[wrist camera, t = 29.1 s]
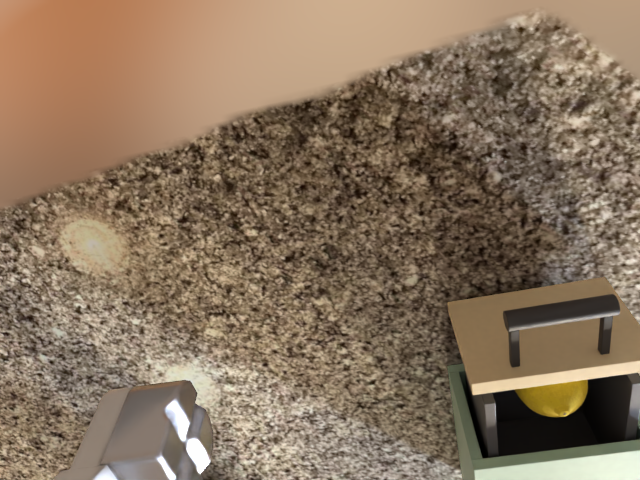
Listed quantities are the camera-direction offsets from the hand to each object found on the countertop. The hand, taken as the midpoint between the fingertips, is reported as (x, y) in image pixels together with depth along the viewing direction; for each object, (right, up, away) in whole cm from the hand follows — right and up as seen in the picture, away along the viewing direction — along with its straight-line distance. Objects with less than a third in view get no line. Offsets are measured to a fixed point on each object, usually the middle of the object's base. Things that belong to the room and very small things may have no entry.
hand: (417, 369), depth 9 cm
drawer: (+16, -6, +37) cm, 41 cm away
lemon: (+16, -5, +36) cm, 39 cm away
